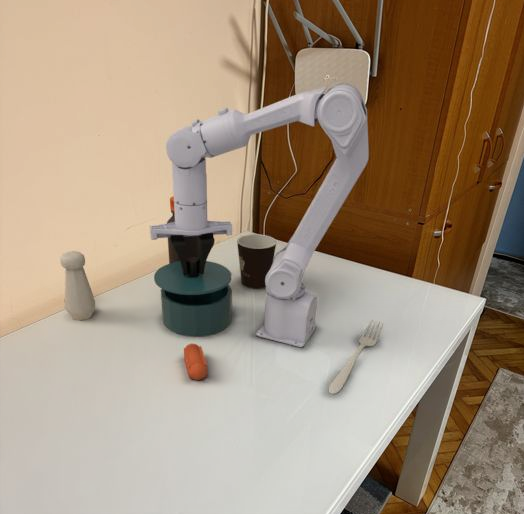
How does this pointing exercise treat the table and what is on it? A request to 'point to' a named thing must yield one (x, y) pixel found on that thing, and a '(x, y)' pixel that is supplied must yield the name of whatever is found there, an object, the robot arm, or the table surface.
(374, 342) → the fork
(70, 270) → the salt shaker
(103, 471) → the table surface
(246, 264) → the coffee mug
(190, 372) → the hot dog
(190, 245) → the bottle
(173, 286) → the pot lid
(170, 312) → the pot
